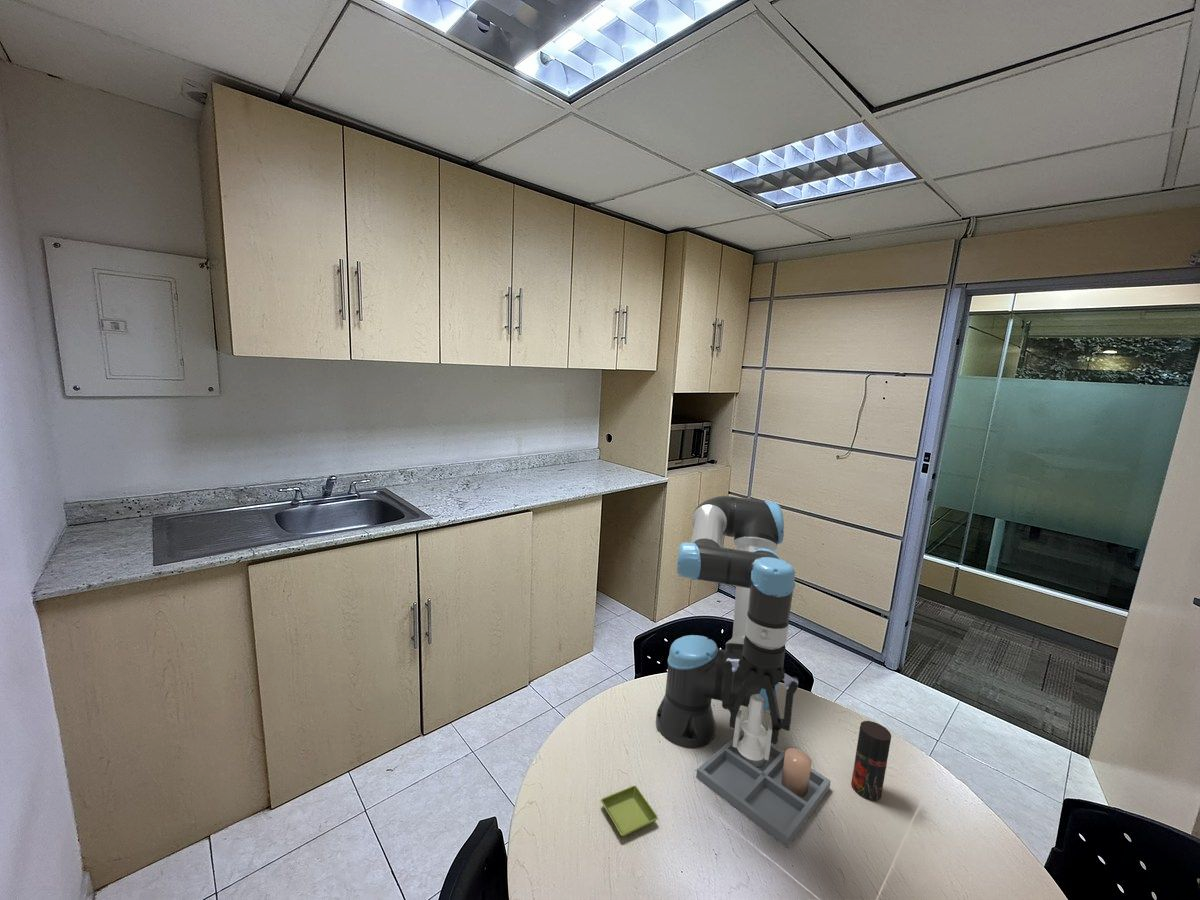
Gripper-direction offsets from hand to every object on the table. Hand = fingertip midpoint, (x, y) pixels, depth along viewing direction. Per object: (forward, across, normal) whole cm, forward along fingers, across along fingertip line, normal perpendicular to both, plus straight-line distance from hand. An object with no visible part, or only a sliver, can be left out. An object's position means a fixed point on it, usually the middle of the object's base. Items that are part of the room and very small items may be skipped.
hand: (751, 748), depth 93 cm
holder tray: (+17, +2, +12) cm, 21 cm away
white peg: (0, 0, 0) cm, 1 cm away
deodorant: (+17, +23, +22) cm, 37 cm away
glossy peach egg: (+16, +9, +15) cm, 24 cm away
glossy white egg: (+16, -1, +18) cm, 25 cm away
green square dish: (+17, -21, -11) cm, 29 cm away
